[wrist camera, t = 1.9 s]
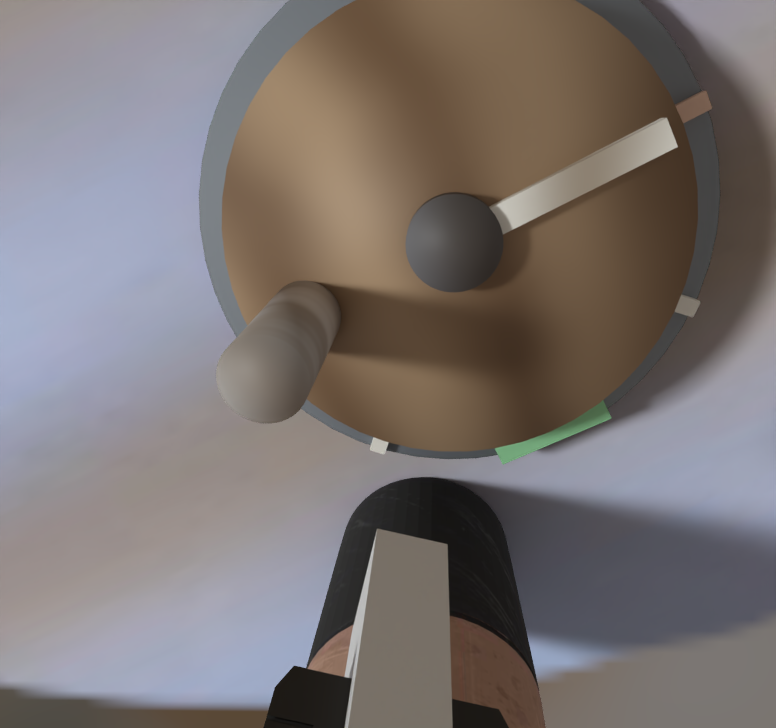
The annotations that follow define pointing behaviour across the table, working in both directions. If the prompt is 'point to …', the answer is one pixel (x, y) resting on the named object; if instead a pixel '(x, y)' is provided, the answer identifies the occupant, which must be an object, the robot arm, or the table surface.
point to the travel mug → (466, 593)
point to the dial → (454, 222)
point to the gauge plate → (613, 3)
